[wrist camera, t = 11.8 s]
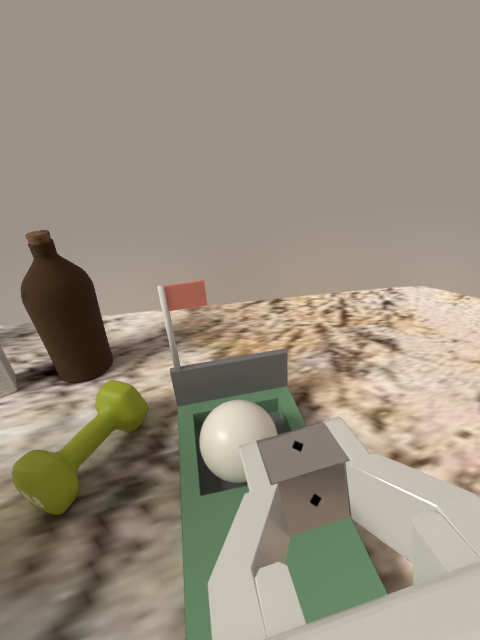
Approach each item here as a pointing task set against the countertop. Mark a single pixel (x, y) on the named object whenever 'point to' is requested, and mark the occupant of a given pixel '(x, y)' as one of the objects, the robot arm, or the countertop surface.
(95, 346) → the olive oil
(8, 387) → the skincare box
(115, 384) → the dumbbell
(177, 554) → the countertop surface
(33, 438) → the countertop surface
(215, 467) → the ball
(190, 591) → the putting green
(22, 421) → the countertop surface
